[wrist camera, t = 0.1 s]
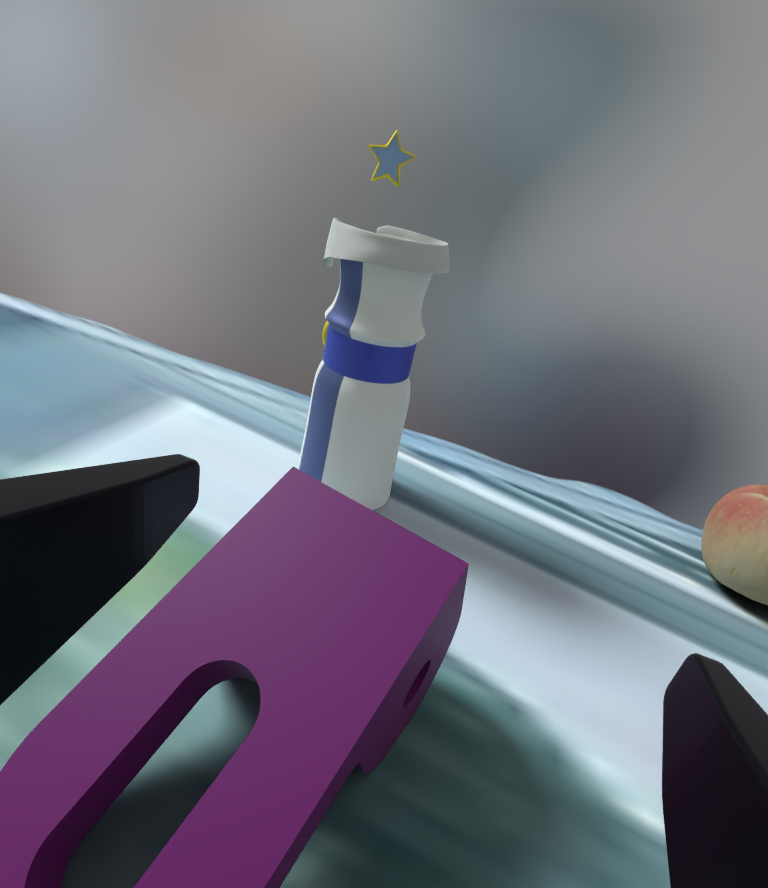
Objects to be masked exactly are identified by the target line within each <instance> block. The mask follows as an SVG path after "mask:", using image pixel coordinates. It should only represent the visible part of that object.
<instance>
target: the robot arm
mask: <svg viewBox="0 0 768 888" xmlns="http://www.w3.org/2000/svg"><path fill="white" fill-rule="evenodd" d="M199 474H200V466H199V464H198V462H197V461H196V460H194V459H191V458H188V457H186V456H183V455H180V454H175V455H168V456H161V457H154V458H147V459H140V460H133V461H126V462H119V463H112V464H105V465H99V466H92V467H85V468H78V469H71V470H64V471H57V472H50V473H43V474H36V475H29V476H22V477H15V478H8V479H1V480H0V705H1V704H2V703H3V702H4V701H5V700H6V699H7V698H8V697H9V696H10V695H11V694H12V693H13V692H14V691H15V690H16V689H17V688H19V687H20V686H21V685H22V684H23V683H24V682H25V681H26V680H27V679H28V678H29V677H30V676H31V675H32V674H33V673H34V672H35V671H36V670H37V669H38V668H39V667H40V666H41V665H42V664H44V663H45V662H46V661H47V660H48V659H49V658H50V657H51V656H52V655H53V654H54V653H55V652H56V651H57V650H58V649H59V648H60V647H61V646H62V645H63V644H64V643H65V642H66V641H67V640H69V639H70V638H71V637H72V636H73V635H74V634H75V633H76V632H77V631H78V630H79V629H80V628H81V627H82V626H83V625H84V624H85V623H86V622H87V621H88V620H89V619H90V618H91V617H92V616H94V615H95V614H96V613H97V612H98V611H99V610H100V609H101V608H102V607H103V606H104V605H105V604H106V603H107V602H108V601H109V600H110V599H111V598H112V597H113V596H114V595H115V594H116V593H117V592H119V591H120V590H121V589H122V588H123V587H124V586H125V585H126V584H127V583H128V582H129V581H130V580H131V579H132V578H133V577H134V576H135V575H136V574H137V573H138V572H139V571H140V570H141V569H142V568H143V567H144V566H145V565H146V564H147V563H148V562H149V561H150V559H151V558H152V557H153V556H154V555H155V554H156V553H157V551H158V550H159V549H160V548H161V547H162V545H163V544H164V543H165V542H166V541H167V540H168V538H169V537H170V536H171V535H172V534H173V532H174V531H175V530H176V529H177V528H178V527H179V525H180V524H181V523H182V522H183V521H184V519H185V518H186V517H187V516H188V515H189V514H190V512H191V511H192V510H193V509H194V507H195V505H196V503H197V500H198V494H199ZM662 800H663V814H664V824H665V834H666V844H667V855H668V865H669V875H670V885H671V888H768V715H767V714H766V712H765V711H764V710H763V709H762V708H761V707H760V706H759V704H758V703H757V702H756V701H755V700H754V699H753V698H752V697H751V695H750V694H749V693H748V692H747V691H746V690H745V689H744V687H743V686H742V685H741V684H740V683H739V682H738V681H737V680H736V678H735V677H734V676H733V675H732V674H731V673H730V672H729V670H728V669H727V668H726V667H725V666H724V665H723V664H722V663H720V662H718V661H715V660H713V659H710V658H708V657H705V656H702V655H700V654H697V653H695V654H691V655H689V656H688V657H687V658H686V660H685V661H684V663H683V664H682V666H681V667H680V668H679V670H678V671H677V673H676V674H675V676H674V677H673V679H672V680H671V682H670V683H669V685H668V687H667V689H666V691H665V695H664V702H663V757H662Z"/></svg>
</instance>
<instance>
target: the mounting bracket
mask: <svg viewBox="0 0 768 888" xmlns="http://www.w3.org/2000/svg"><path fill="white" fill-rule="evenodd" d="M468 565H469V564H468V563H466V562H464V561H463V560H461V559H459V558H457V557H455V556H454V555H452V554H450V553H448V552H446V551H445V550H443V549H441V548H439V547H437V546H436V545H434V544H432V543H430V542H428V541H427V540H425V539H423V538H421V537H419V536H418V535H416V534H414V533H412V532H410V531H409V530H407V529H405V528H403V527H401V526H399V525H398V524H396V523H394V522H392V521H390V520H389V519H387V518H385V517H383V516H381V515H380V514H378V513H376V512H374V511H372V510H371V509H369V508H367V507H365V506H363V505H362V504H360V503H358V502H356V501H354V500H353V499H351V498H349V497H347V496H345V495H344V494H342V493H340V492H338V491H336V490H335V489H333V488H331V487H329V486H327V485H325V484H324V483H322V482H320V481H318V480H316V479H315V478H313V477H311V476H309V475H307V474H306V473H304V472H302V471H300V470H298V469H297V468H295V467H292V468H291V469H290V470H289V471H288V472H287V473H286V474H285V475H284V476H283V477H282V478H281V479H280V480H279V481H278V482H277V483H276V484H275V485H274V487H273V488H272V489H271V490H270V491H269V492H268V493H267V494H266V495H265V496H264V497H263V498H262V499H261V500H260V501H259V502H258V503H257V504H256V505H255V506H254V507H253V508H252V509H251V510H250V511H249V512H248V513H247V514H246V515H245V516H244V517H243V518H242V519H241V520H240V521H239V522H238V523H237V524H236V525H235V526H234V527H233V528H232V529H231V530H230V531H229V532H228V533H227V534H226V535H225V536H224V537H223V538H222V539H221V540H220V541H219V542H218V543H217V544H216V545H215V546H214V547H213V548H212V549H211V550H210V551H209V552H208V553H207V554H206V555H205V556H204V557H203V558H202V559H201V560H200V561H199V562H198V563H197V564H196V565H195V566H194V567H193V568H192V569H191V570H190V571H189V572H188V573H187V574H186V575H185V576H184V577H183V578H182V579H181V580H180V581H179V582H178V584H177V585H176V586H175V587H174V588H173V589H172V590H171V591H170V592H169V593H168V594H167V595H166V596H165V597H164V598H163V599H162V600H161V601H160V602H159V603H158V604H157V605H156V606H155V607H154V608H153V609H152V610H151V611H150V612H149V613H148V614H147V615H146V616H145V617H144V618H143V619H142V620H141V621H140V622H139V623H138V624H137V625H136V626H135V627H134V628H133V629H132V630H131V631H130V632H129V633H128V634H127V635H126V636H125V637H124V638H123V639H122V640H121V641H120V642H119V643H118V644H117V645H116V646H115V647H114V648H113V649H112V650H111V651H110V652H109V653H108V654H107V655H106V656H105V657H104V658H103V659H102V660H101V661H100V662H99V663H98V664H97V665H96V666H95V667H94V668H93V669H92V670H91V671H90V672H89V673H88V674H87V675H86V676H85V677H84V678H83V680H82V681H81V682H80V683H79V684H78V685H77V686H76V687H75V688H74V689H73V690H72V691H71V692H70V693H69V694H68V695H67V696H66V697H65V698H64V699H63V700H62V701H61V702H60V703H59V704H58V705H57V706H56V707H55V708H54V709H53V710H52V711H51V712H50V713H49V714H48V715H47V716H46V717H45V718H44V719H43V720H42V721H41V722H40V723H39V724H38V725H37V726H36V727H35V728H34V729H33V731H32V732H31V733H30V734H29V735H28V736H27V737H26V738H25V739H24V741H23V742H22V743H21V744H20V746H19V747H18V748H17V749H16V751H15V752H14V753H13V754H12V756H11V757H10V759H9V760H8V762H7V763H6V764H5V766H4V767H3V769H2V770H1V772H0V888H61V887H62V881H63V877H64V873H65V870H66V868H67V865H68V863H69V860H70V858H71V856H72V854H73V853H74V851H75V849H76V848H77V846H78V845H79V843H80V842H81V841H82V839H83V838H84V837H85V836H86V835H87V833H88V832H89V831H90V830H91V829H92V827H93V826H94V825H95V824H96V823H97V821H98V820H99V819H100V818H101V817H102V815H103V814H104V813H105V812H106V811H107V809H108V808H109V807H110V806H111V805H112V803H113V802H114V801H115V800H116V799H117V798H118V796H119V795H120V794H121V793H122V792H123V790H124V789H125V788H126V787H127V786H128V784H129V783H130V782H131V781H132V780H133V778H134V777H135V776H136V775H137V774H138V772H139V771H140V770H141V769H142V768H143V766H144V765H145V764H146V763H147V762H148V760H149V759H150V758H151V757H152V756H153V754H154V753H155V752H156V751H157V750H158V749H159V747H160V746H161V745H162V744H163V743H164V741H165V740H166V739H167V738H168V737H169V735H170V734H171V733H172V732H173V731H174V729H175V728H176V727H177V726H178V725H179V723H180V722H181V721H182V720H183V719H184V717H185V716H186V715H187V714H188V713H189V711H190V710H191V709H192V708H193V707H194V705H195V704H196V703H197V702H198V701H199V700H200V698H201V697H202V696H203V695H204V694H205V693H206V692H207V691H208V690H209V689H211V688H212V687H213V686H215V685H216V684H218V683H220V682H222V681H225V680H228V679H233V678H244V679H249V680H252V681H254V682H256V683H257V684H258V685H259V689H260V698H261V700H260V710H259V714H258V717H257V720H256V722H255V725H254V727H253V728H252V730H251V732H250V733H249V735H248V736H247V738H246V739H245V740H244V742H243V743H242V744H241V746H240V747H239V748H238V750H237V751H236V752H235V754H234V755H233V756H232V758H231V759H230V760H229V762H228V763H227V764H226V766H225V767H224V768H223V770H222V771H221V772H220V774H219V775H218V776H217V778H216V779H215V780H214V781H213V783H212V784H211V785H210V787H209V788H208V789H207V791H206V792H205V793H204V795H203V796H202V797H201V799H200V800H199V801H198V803H197V804H196V805H195V807H194V808H193V809H192V811H191V812H190V813H189V815H188V816H187V817H186V819H185V820H184V821H183V823H182V824H181V825H180V827H179V828H178V829H177V831H176V832H175V833H174V835H173V836H172V837H171V839H170V840H169V841H168V843H167V844H166V845H165V847H164V848H163V849H162V851H161V852H160V853H159V855H158V856H157V857H156V859H155V860H154V861H153V863H152V864H151V865H150V867H149V868H148V869H147V871H146V872H145V873H144V875H143V876H142V877H141V879H140V880H139V881H138V883H137V884H136V885H135V887H134V888H279V887H280V886H281V884H282V883H283V881H284V879H285V878H286V876H287V874H288V873H289V871H290V870H291V868H292V866H293V865H294V863H295V862H296V860H297V858H298V857H299V855H300V853H301V852H302V850H303V849H304V847H305V845H306V844H307V842H308V840H309V839H310V837H311V836H312V834H313V832H314V831H315V829H316V828H317V826H318V824H319V823H320V821H321V819H322V818H323V816H324V815H325V813H326V811H327V810H328V808H329V806H330V805H331V803H332V802H333V800H334V798H335V797H336V795H337V794H338V792H339V790H340V789H341V787H342V785H343V784H344V782H345V781H346V779H347V777H348V776H349V774H350V773H351V772H352V770H353V769H354V768H355V766H358V767H359V768H360V769H361V770H363V771H364V772H365V773H368V772H370V771H372V770H373V769H374V768H375V767H376V766H377V765H378V764H379V763H380V762H381V761H382V760H383V759H384V757H385V756H386V754H387V753H388V751H389V750H390V748H391V747H392V745H393V744H394V743H395V741H396V740H397V738H398V737H399V735H400V734H401V732H402V731H403V729H404V728H405V726H406V725H407V724H408V722H409V721H410V719H411V718H412V716H413V715H414V713H415V711H416V710H417V708H418V706H419V705H420V703H421V701H422V699H423V698H424V696H425V694H426V692H427V690H428V689H429V687H430V685H431V683H432V681H433V679H434V677H435V675H436V673H437V671H438V669H439V667H440V665H441V663H442V661H443V659H444V657H445V655H446V652H447V650H448V648H449V646H450V643H451V641H452V639H453V636H454V633H455V631H456V628H457V625H458V622H459V619H460V615H461V610H462V604H463V597H464V591H465V584H466V578H467V571H468Z"/></svg>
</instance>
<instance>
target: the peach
mask: <svg viewBox="0 0 768 888" xmlns="http://www.w3.org/2000/svg"><path fill="white" fill-rule="evenodd" d="M701 545H702V556H703V560H704V563H705V565H706V567H707V569H708V570H709V571H710V573H711V574H712V575H713V576H714V577H715V578H716V579H717V580H718V581H719V582H720V583H722V584H723V585H725V586H727V587H729V588H731V589H732V590H734V591H736V592H738V593H740V594H742V595H744V596H746V597H748V598H749V599H751V600H754V601H757V602H759V603H762V604H765V605H768V486H766V485H749V486H744V487H741V488H738V489H736V490H734V491H732V492H730V493H728V494H727V495H725V496H724V497H723V498H721V499H720V500H719V501H718V502H717V503H716V505H715V506H714V508H713V509H712V510H711V512H710V513H709V516H708V518H707V520H706V522H705V526H704V529H703V534H702V544H701Z"/></svg>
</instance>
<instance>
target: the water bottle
mask: <svg viewBox="0 0 768 888" xmlns="http://www.w3.org/2000/svg"><path fill="white" fill-rule="evenodd" d="M369 148H370V149H371V151H372V153H373V154H374V156H375V158H376V159H377V161H378V165H377V167H376V170H375V172H374V174H373V177H372V179H371V181H374V180H378V179H381V178H384V177H387V178H389V179H390V180H391V181H392V182H393V183H394V184H395V185H397V186H399V184H400V167H401V166H403V165H404V164H406V163H408V162H409V161H411V160H412V159H414V158H415V155H413V154H411V153H409V152H406V151H404V150H402V149H401V145H400V140H399V135H398V131H397V130H396V131H395V133H394V134H393V136H392V137H391V139H390V141H389V142H388V144H387V145H369ZM333 258H339V260H340V285H339V289H338V292H337V295H336V298H335V300H334V302H333V303H332V305H331V306H330V307H329V308H328V309H327V311H326V312H325V318H326V320H327V322H326V324H325V326H324V329H323V333H322V340H323V344H324V346H325V350H324V356H323V360H322V361H321V363H320V365H319V367H318V369H317V372H316V375H315V379H314V383H313V389H312V394H311V400H310V406H309V412H308V418H307V424H306V429H305V435H304V439H303V444H302V449H301V454H300V459H299V463H298V468H297V469H298V470H300V471H302V472H304V473H306V474H307V475H309V476H311V477H313V478H315V479H316V480H318V481H320V482H322V483H324V484H325V485H327V486H329V487H331V488H333V489H335V490H336V491H338V492H340V493H342V494H344V495H345V496H347V497H349V498H351V499H353V500H354V501H356V502H358V503H360V504H362V505H363V506H365V507H367V508H369V509H371V510H372V511H373V510H376V509H378V508H380V507H382V506H383V505H384V504H385V503H386V502H387V501H388V499H389V497H390V492H391V486H392V480H393V475H394V469H395V464H396V459H397V454H398V449H399V444H400V440H401V435H402V431H403V426H404V422H405V418H406V414H407V409H408V405H409V399H410V380H409V372H410V369H411V365H412V360H413V356H414V352H415V348H416V344H417V342H418V341H420V340H421V339H423V338H424V336H425V331H424V328H423V326H422V321H421V310H422V303H423V299H424V296H425V292H426V290H427V287H428V284H429V282H430V279H431V277H432V274H433V273H446V272H449V269H450V263H449V253H448V244H447V243H446V242H443V241H440V240H437V239H434V238H431V237H428V236H425V235H422V234H418V233H415V232H412V231H409V230H405V229H401V228H397V227H392V226H383V227H379V228H377V232H376V233H373V232H369V231H365V230H362V229H359V228H355V227H352V226H350V225H347V224H344V223H341V222H340V221H339V220H338V219H337V218H334V219H333V221H332V225H331V229H330V233H329V237H328V241H327V246H326V251H325V256H324V260H323V262H324V264H326V265H327V266H330V267H332V265H333Z"/></svg>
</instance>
